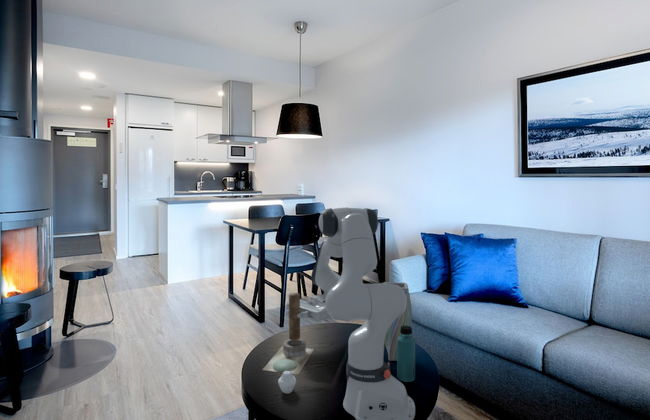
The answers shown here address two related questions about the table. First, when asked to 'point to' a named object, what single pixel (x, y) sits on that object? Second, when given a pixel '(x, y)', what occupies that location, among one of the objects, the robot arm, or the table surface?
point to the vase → (398, 324)
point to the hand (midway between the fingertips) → (292, 314)
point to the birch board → (291, 355)
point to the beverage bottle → (406, 355)
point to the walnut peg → (294, 316)
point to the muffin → (287, 382)
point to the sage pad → (284, 365)
